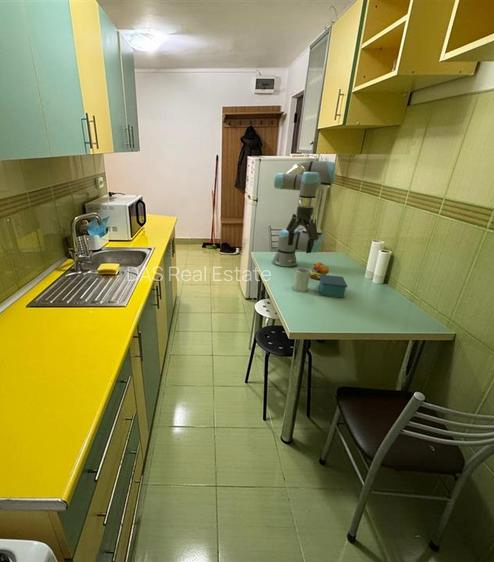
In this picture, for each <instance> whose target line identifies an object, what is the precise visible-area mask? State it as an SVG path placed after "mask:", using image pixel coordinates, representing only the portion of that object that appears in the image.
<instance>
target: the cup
mask: <svg viewBox="0 0 494 562" xmlns="http://www.w3.org/2000/svg"><path fill="white" fill-rule="evenodd" d="M310 273H311V271H310V268H309V269H308V268H306V267H297V268H296V269H295V275H294V281H293V286H292V287H293V290H294V291H297V292H301V293H304V292H305V293H306V292H307V291H308V288H309V284H310V279H311V278H310Z"/></svg>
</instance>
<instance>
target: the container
mask: <svg viewBox="0 0 494 562" xmlns="http://www.w3.org/2000/svg"><path fill="white" fill-rule="evenodd" d="M320 277H321V278H320V279H319V284H318V288H319V291H320V295H321V296H325V297H326V296H327V297H334V298H345V293H346V290H347V289H346V288H348V285H347V282H346V280H345V278H344V276H339V275H329V274H326V275H322V274H320Z"/></svg>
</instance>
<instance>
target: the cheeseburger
mask: <svg viewBox="0 0 494 562" xmlns="http://www.w3.org/2000/svg"><path fill="white" fill-rule="evenodd" d="M309 270H310V271H311V273H310V277H311V278H312V279H315V280H320V278H321V277H320V274H322V275H329V273H330V268H329V266H325V265H324V263H322V262H320V261H317V262H315V263H314V264H313V267H311V268H309Z"/></svg>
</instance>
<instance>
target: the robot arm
mask: <svg viewBox="0 0 494 562" xmlns="http://www.w3.org/2000/svg"><path fill="white" fill-rule="evenodd" d="M335 179H336V163H335V162H334V161H328V160H327V161H323V160H321V161H319V160H307V161H306V160H305V161H301V162H298V163H296V164H293V166H291V168H290V170H288V171H287V172H285V173H283V172H282V173H276V174H275V176H274V180H273V186H274V189H277V190H289V191H290V190H292V191H299V195H298V202H297V205H298V206H297V207H296V213H293V214H292V216H291V219H290V221H289V223H288V225H287V226H286V228H284V229H281V230H280V231H279V235H278V241H277V249H276V253H275V254H274V257H273V261H272V263H273V265H276V266H279V267H284V268H293V267H296V266H297V263H298V262H297V261H298V260H297V257H296V251H300V252H305V253H306V254H311V253H315V254H316V253H318V252H319V250H320V248H321V245H322V243H323V240H324V234H322V233H323V232H322V230H321V225H322V219H323V214H324V210H325V203H326V199H327V195H328V189H329V188H331V187H332V184H335V181H336V180H335ZM300 226H302V227H303V229H302V231H299V229H298V227H300Z"/></svg>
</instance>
